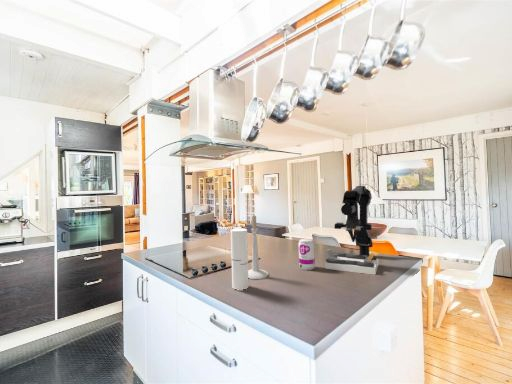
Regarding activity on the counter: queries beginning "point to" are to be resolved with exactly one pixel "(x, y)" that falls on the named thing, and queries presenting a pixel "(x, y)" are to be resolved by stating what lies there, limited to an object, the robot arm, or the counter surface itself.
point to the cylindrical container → (239, 259)
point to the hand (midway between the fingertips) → (353, 241)
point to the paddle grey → (330, 253)
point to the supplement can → (306, 254)
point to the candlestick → (255, 256)
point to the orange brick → (370, 256)
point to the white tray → (352, 267)
